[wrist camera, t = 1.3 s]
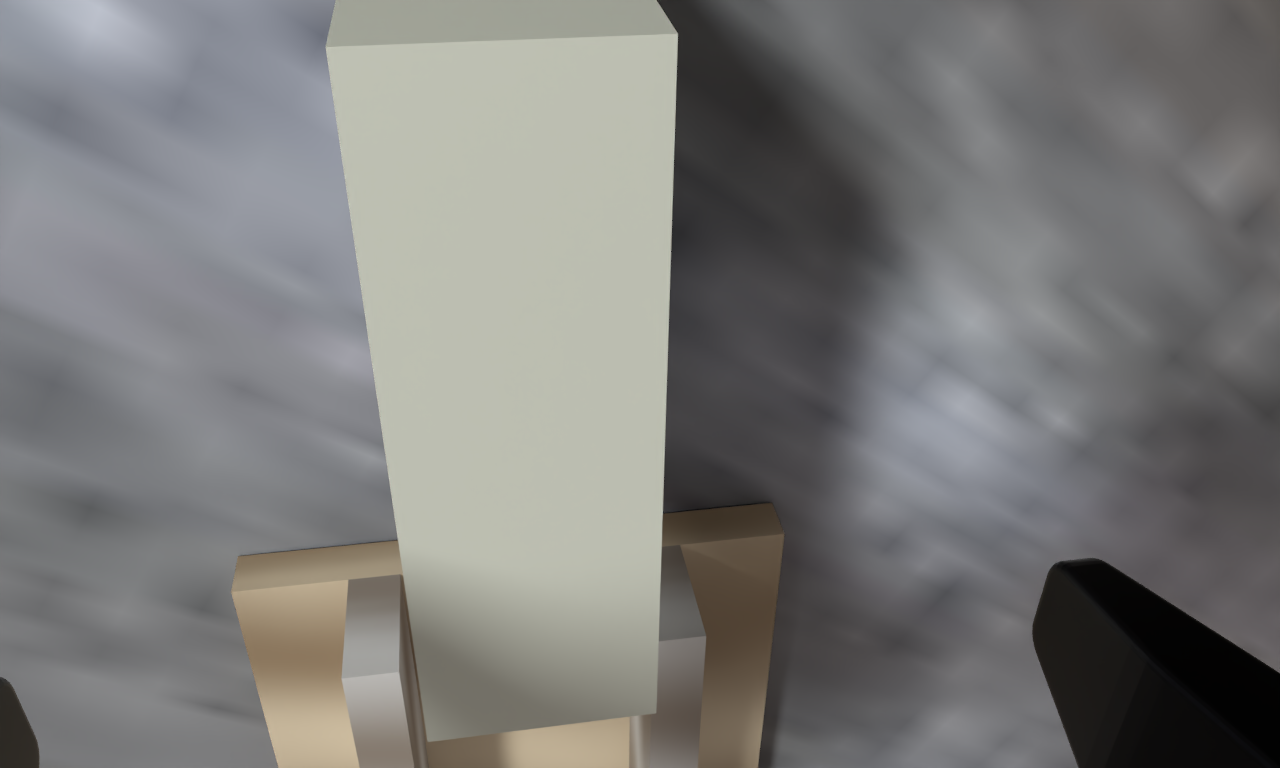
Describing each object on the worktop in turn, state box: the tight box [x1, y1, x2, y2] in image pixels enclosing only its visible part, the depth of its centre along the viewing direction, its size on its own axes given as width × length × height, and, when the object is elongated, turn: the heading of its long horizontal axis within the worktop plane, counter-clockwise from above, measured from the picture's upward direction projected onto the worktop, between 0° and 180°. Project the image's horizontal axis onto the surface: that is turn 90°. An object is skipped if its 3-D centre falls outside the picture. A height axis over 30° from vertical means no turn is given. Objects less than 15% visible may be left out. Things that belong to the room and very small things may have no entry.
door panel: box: [326, 0, 678, 742], centre depth 15 cm, size 9×3×8 cm, turn 179°
